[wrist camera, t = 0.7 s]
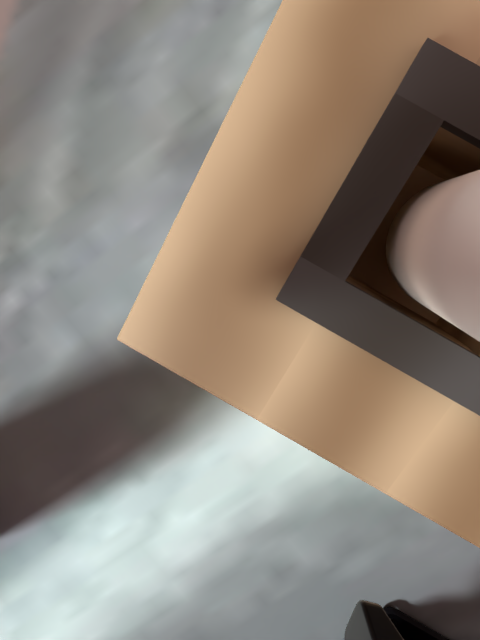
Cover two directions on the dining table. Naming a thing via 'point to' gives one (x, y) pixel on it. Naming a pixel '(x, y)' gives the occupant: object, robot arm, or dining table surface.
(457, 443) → the socket block
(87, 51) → the dining table surface
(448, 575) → the dining table surface
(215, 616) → the dining table surface
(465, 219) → the dowel
